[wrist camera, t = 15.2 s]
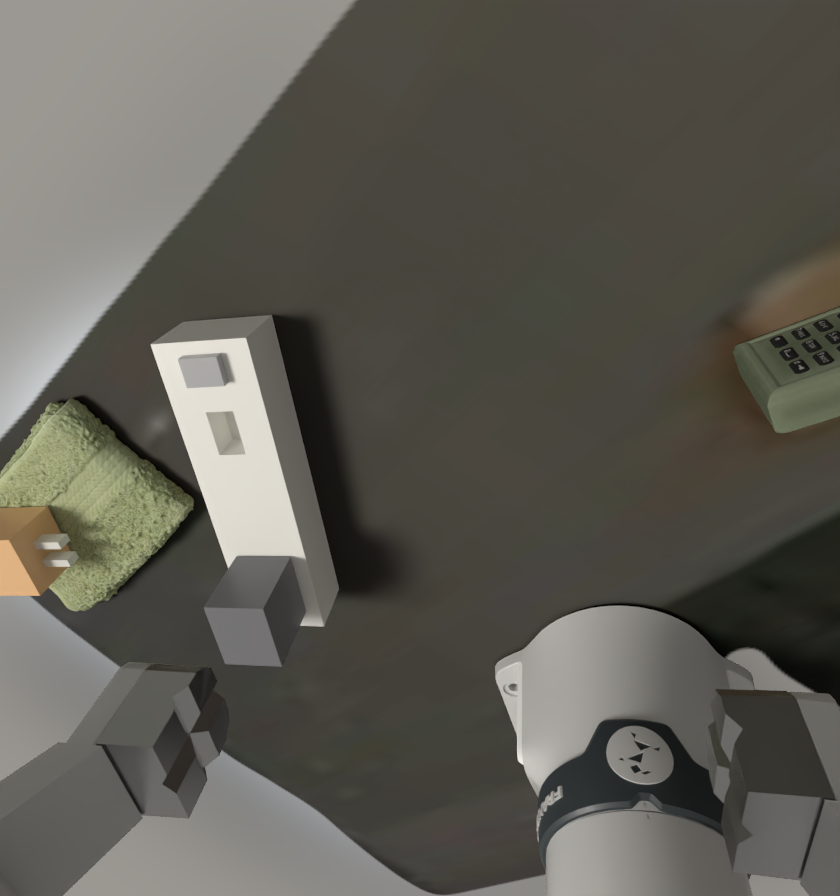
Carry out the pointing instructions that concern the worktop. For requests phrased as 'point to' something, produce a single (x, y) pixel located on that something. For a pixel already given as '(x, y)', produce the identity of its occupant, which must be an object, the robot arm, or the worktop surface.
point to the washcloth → (93, 500)
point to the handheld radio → (795, 371)
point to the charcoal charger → (256, 610)
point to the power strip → (248, 447)
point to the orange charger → (31, 551)
